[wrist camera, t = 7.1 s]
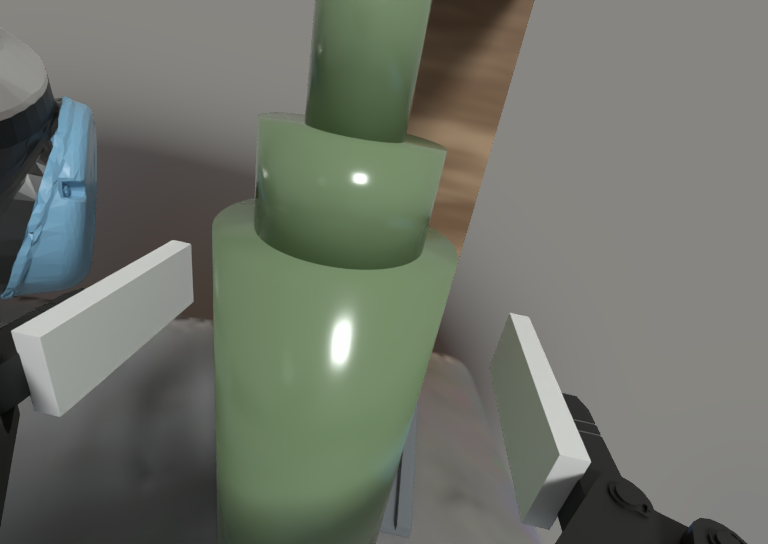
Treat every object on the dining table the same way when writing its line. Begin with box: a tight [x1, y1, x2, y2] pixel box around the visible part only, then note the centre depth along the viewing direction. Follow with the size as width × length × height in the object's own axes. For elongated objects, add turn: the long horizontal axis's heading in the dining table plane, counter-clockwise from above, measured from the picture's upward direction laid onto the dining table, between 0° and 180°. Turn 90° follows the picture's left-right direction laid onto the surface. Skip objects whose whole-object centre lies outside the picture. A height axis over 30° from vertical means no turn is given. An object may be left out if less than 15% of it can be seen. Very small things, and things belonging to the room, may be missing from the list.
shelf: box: [407, 0, 534, 388], centre depth 25 cm, size 17×14×37 cm
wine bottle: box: [212, 0, 458, 544], centre depth 15 cm, size 7×7×31 cm
